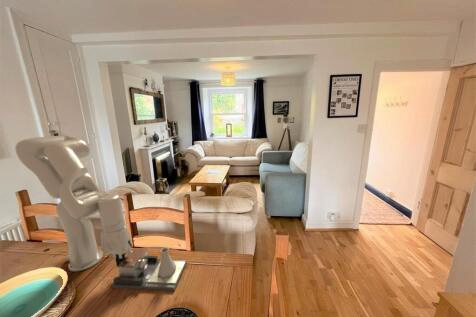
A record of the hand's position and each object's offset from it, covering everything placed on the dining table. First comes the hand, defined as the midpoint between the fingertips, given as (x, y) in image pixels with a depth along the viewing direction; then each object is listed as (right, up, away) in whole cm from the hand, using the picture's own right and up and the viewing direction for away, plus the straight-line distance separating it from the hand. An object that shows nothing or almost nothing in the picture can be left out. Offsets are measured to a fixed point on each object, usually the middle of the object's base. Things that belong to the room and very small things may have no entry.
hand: (121, 264), depth 80 cm
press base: (+13, -4, 0) cm, 13 cm away
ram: (+6, -2, 0) cm, 7 cm away
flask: (+19, -2, -1) cm, 20 cm away
